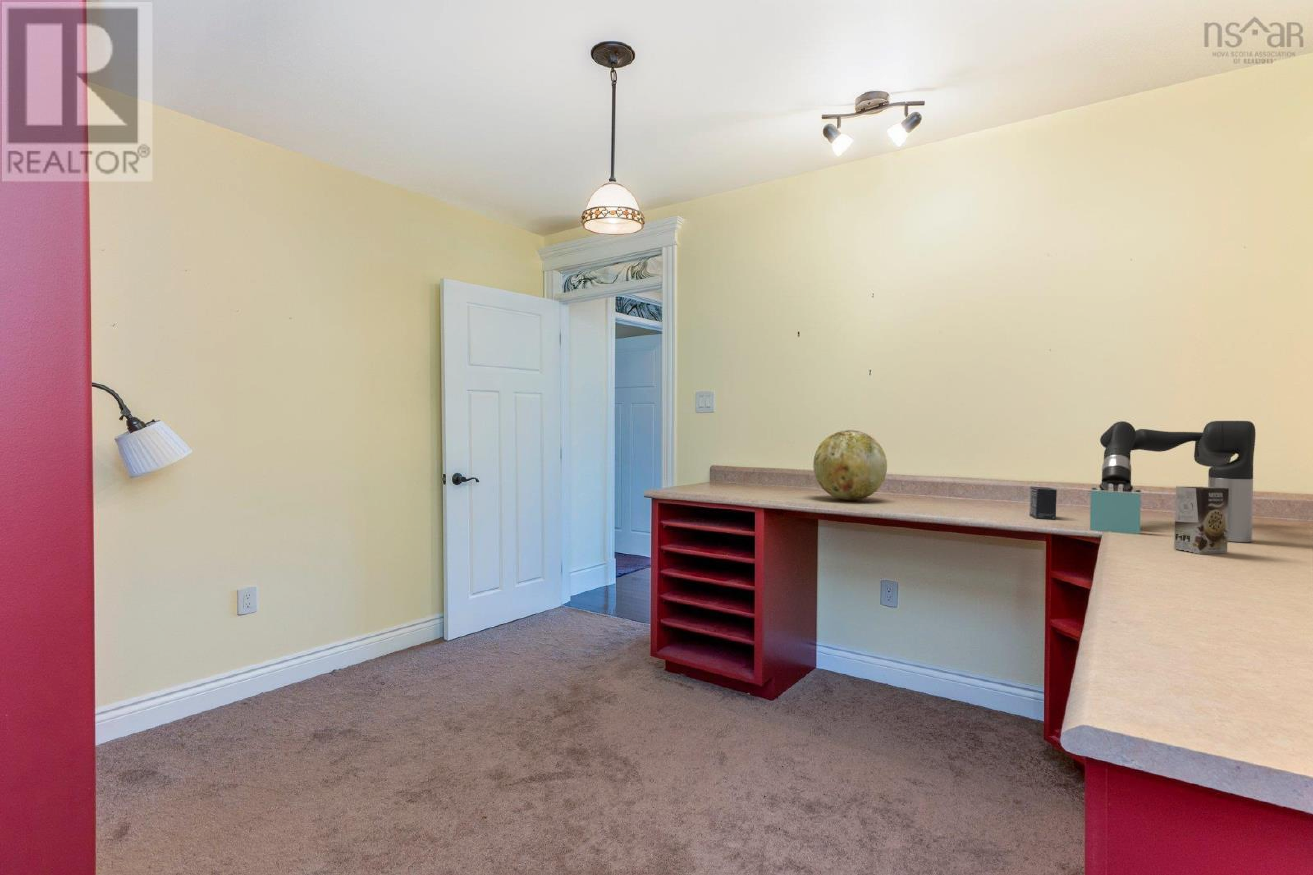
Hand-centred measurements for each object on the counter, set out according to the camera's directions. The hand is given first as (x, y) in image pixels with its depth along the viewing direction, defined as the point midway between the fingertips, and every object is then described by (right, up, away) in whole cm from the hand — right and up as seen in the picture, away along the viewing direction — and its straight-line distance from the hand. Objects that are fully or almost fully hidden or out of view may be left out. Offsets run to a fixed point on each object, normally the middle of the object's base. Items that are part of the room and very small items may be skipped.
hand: (1114, 514), depth 189 cm
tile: (-2, -5, -2) cm, 5 cm away
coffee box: (-4, -5, -34) cm, 35 cm away
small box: (-4, -5, +28) cm, 29 cm away
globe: (-57, -4, +77) cm, 96 cm away
